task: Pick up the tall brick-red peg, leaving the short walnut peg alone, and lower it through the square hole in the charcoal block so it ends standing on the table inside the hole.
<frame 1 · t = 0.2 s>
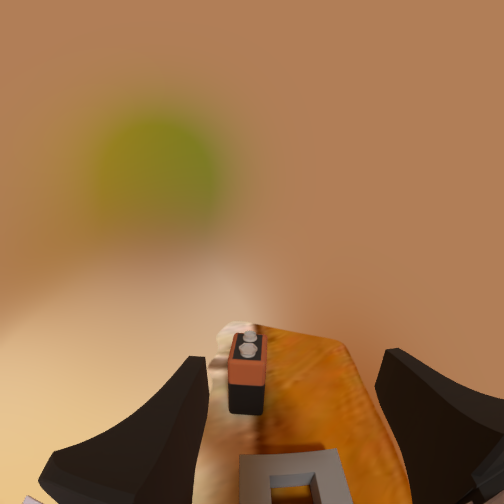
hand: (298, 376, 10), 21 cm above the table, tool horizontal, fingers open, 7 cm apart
battery: (247, 400, 35), on the table
hole block: (290, 503, 19), on the table
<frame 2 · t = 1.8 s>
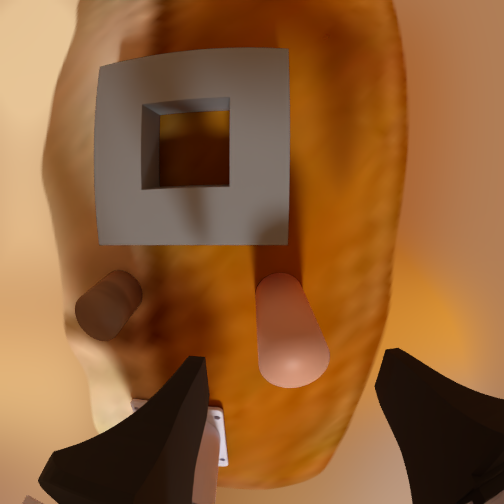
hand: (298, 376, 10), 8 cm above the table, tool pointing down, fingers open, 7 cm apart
short peg: (122, 291, 18), on the table
long peg: (279, 295, 18), on the table
hole block: (195, 147, 15), on the table
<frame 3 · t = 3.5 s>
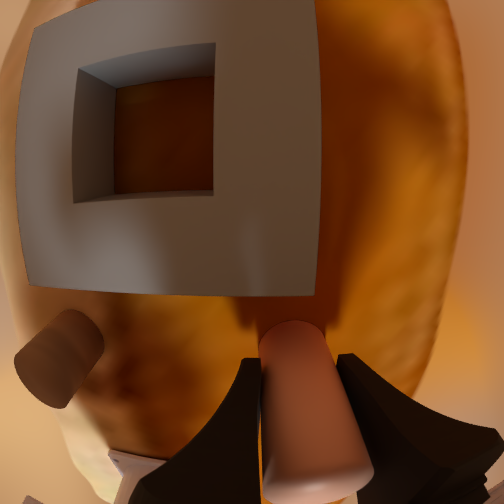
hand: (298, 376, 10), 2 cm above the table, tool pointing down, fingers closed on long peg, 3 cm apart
short peg: (79, 335, 12), on the table
long peg: (292, 349, 12), on the table, touching gripper
hole block: (165, 133, 10), on the table
when the fingers open (4 cm above the table, at t = 7.5 s): long peg drops 2 cm, resting in hole block.
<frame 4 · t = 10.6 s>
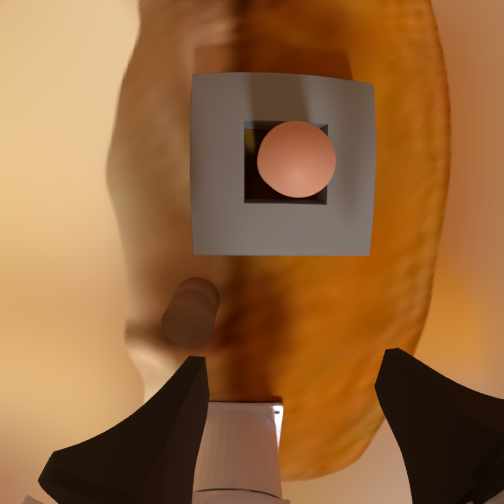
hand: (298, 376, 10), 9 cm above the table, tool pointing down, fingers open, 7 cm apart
short peg: (197, 297, 20), on the table
long peg: (280, 163, 17), resting in hole block
hole block: (280, 163, 17), on the table
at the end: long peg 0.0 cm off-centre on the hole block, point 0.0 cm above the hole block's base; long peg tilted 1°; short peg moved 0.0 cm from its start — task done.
